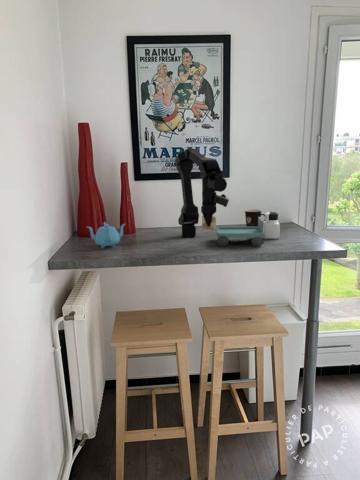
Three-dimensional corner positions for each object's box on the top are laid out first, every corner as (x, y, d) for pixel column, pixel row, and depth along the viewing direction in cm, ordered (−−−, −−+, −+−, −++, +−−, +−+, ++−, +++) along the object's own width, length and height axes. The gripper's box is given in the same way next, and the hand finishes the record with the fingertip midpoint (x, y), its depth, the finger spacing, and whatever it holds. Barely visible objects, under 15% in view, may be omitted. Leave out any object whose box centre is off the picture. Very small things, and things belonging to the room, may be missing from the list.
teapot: (108, 251, 156) (107, 228, 153) (86, 247, 162) (84, 225, 160) (127, 244, 167) (126, 222, 164) (106, 241, 173) (104, 220, 171)
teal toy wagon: (217, 246, 158) (217, 222, 156) (216, 239, 172) (216, 216, 169) (263, 246, 156) (264, 222, 154) (259, 238, 170) (259, 216, 167)
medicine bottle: (277, 235, 176) (278, 211, 174) (279, 238, 170) (280, 213, 167) (262, 235, 177) (263, 211, 174) (264, 238, 170) (264, 213, 167)
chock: (202, 229, 155) (202, 217, 154) (202, 226, 160) (202, 215, 159) (216, 229, 155) (216, 217, 153) (215, 226, 160) (215, 215, 158)
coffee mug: (241, 228, 194) (242, 209, 192) (255, 226, 197) (256, 208, 194) (252, 232, 184) (252, 213, 181) (266, 230, 186) (267, 211, 184)
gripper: (228, 191, 144) (228, 229, 147) (226, 186, 162) (226, 220, 165) (201, 192, 145) (201, 229, 148) (202, 187, 163) (202, 221, 166)
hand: (208, 225), depth 157 cm, fingers closed on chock, 5 cm apart
